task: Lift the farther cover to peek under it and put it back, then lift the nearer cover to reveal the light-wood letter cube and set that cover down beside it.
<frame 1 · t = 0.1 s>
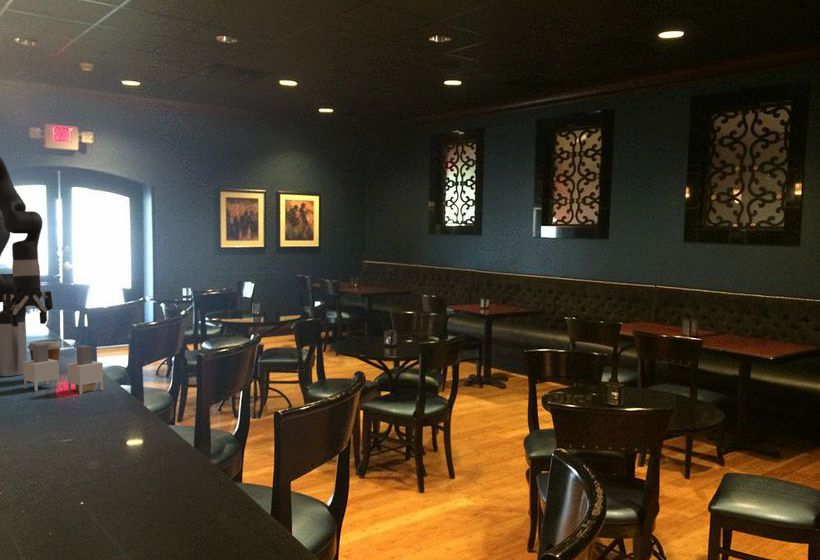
hand: (29, 325, 219), 17 cm above the table, tool pointing down, fingers open, 8 cm apart
disposable coffee cup: (46, 379, 220), on the table
cover 2: (85, 390, 204), on the table
letter cube: (85, 390, 204), on the table
cover 1: (41, 387, 207), on the table
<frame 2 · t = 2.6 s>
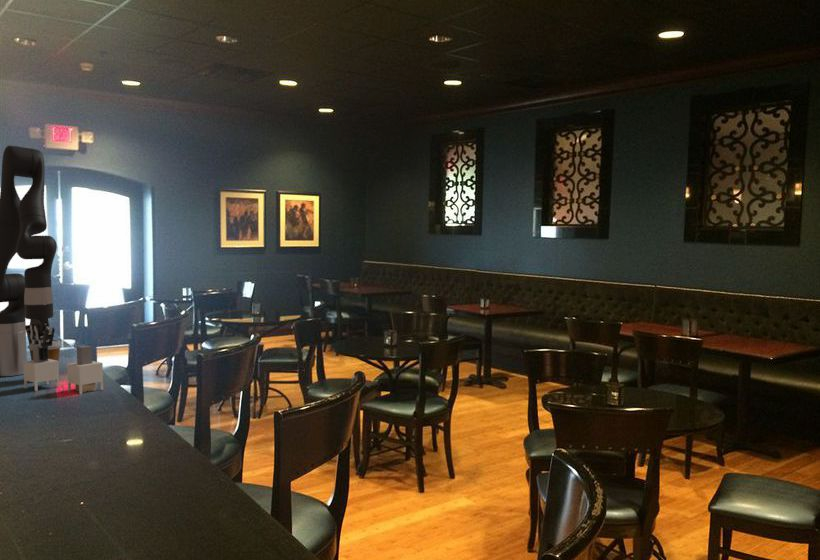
hand: (40, 359, 207), 9 cm above the table, tool pointing down, fingers closed on cover 1, 3 cm apart
cover 1: (41, 387, 207), on the table, touching gripper
everything else where it was.
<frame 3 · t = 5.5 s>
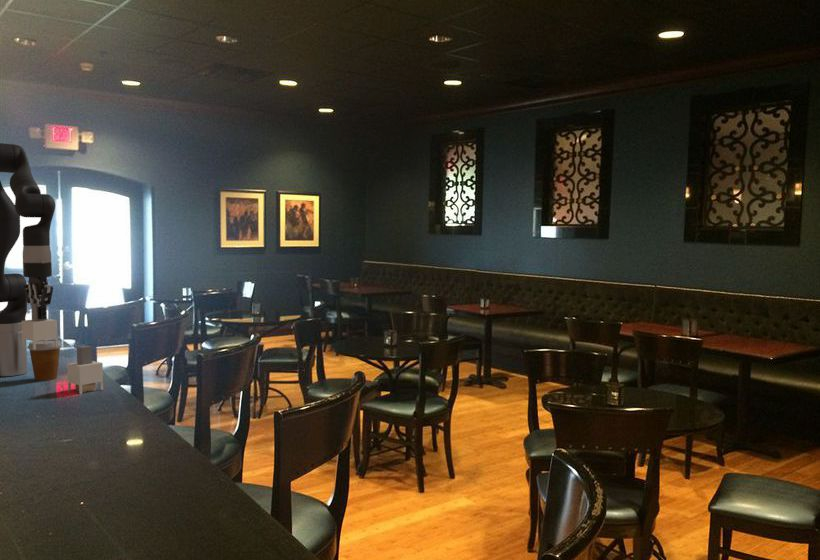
hand: (39, 318, 206), 21 cm above the table, tool pointing down, fingers closed on cover 1, 3 cm apart
cover 1: (40, 346, 207), point 12 cm above the table, touching gripper
everything else where it was.
when the fingers open (10 cm above the table, at t = 7.9 s): cover 1 stays where it is, on the table.
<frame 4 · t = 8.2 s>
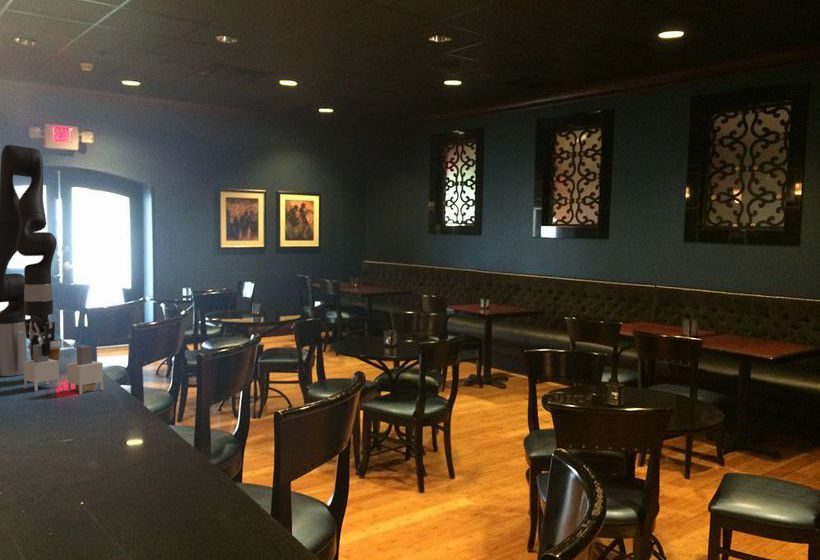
hand: (40, 354, 207), 10 cm above the table, tool pointing down, fingers open, 6 cm apart
cover 1: (42, 387, 207), on the table
everything else where it was.
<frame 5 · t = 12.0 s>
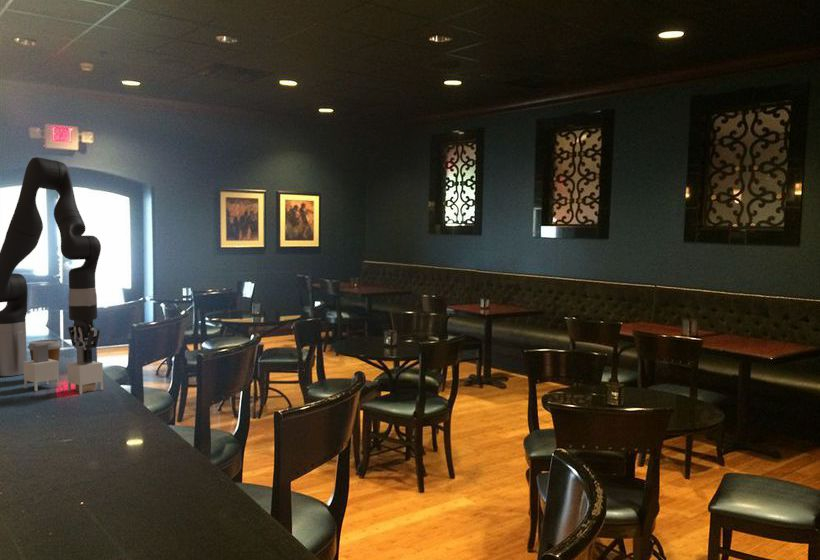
hand: (84, 361, 203), 9 cm above the table, tool pointing down, fingers closed on cover 2, 3 cm apart
cover 2: (85, 390, 204), on the table, touching gripper
everything else where it was.
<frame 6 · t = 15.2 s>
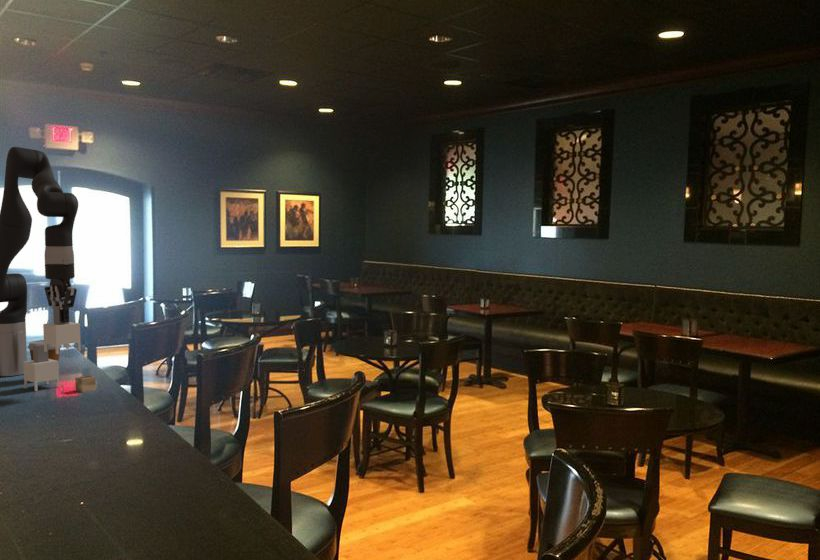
hand: (61, 321, 199), 21 cm above the table, tool pointing down, fingers closed on cover 2, 3 cm apart
cover 2: (62, 351, 199), point 12 cm above the table, touching gripper
everything else where it was.
when the fingers open (10 cm above the table, at t = 18.0 s): cover 2 stays where it is, on the table.
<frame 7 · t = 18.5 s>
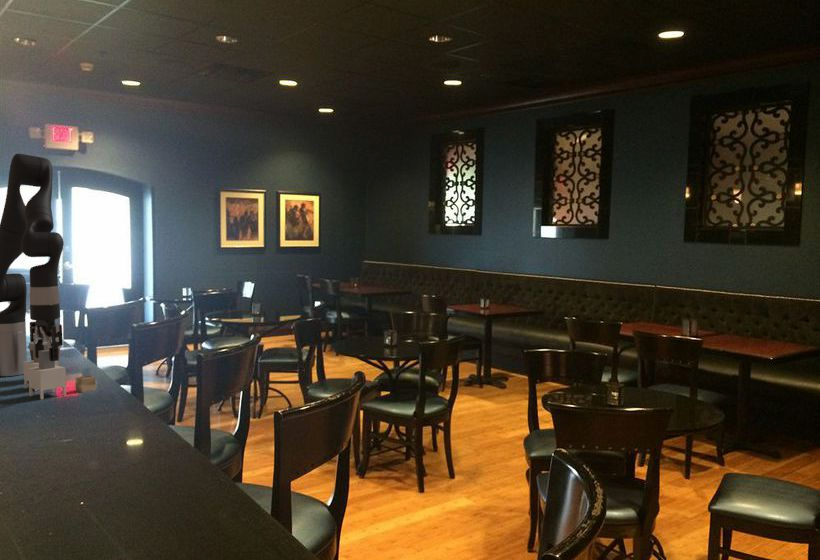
hand: (46, 359, 196), 11 cm above the table, tool pointing down, fingers open, 8 cm apart
cover 2: (47, 395, 197), on the table
everything else where it was.
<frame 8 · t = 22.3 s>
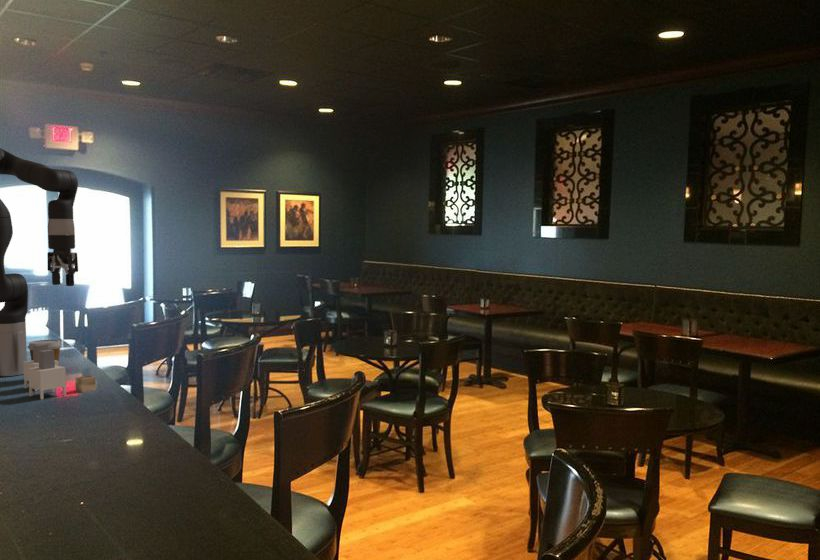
hand: (63, 285, 216), 30 cm above the table, tool pointing down, fingers open, 8 cm apart
nothing on the table moved.
at the end: cover 2 inside the target area (0.1 cm from its centre), on the table; cover 1 moved 0.0 cm from its start; letter cube moved 0.1 cm from its start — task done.
